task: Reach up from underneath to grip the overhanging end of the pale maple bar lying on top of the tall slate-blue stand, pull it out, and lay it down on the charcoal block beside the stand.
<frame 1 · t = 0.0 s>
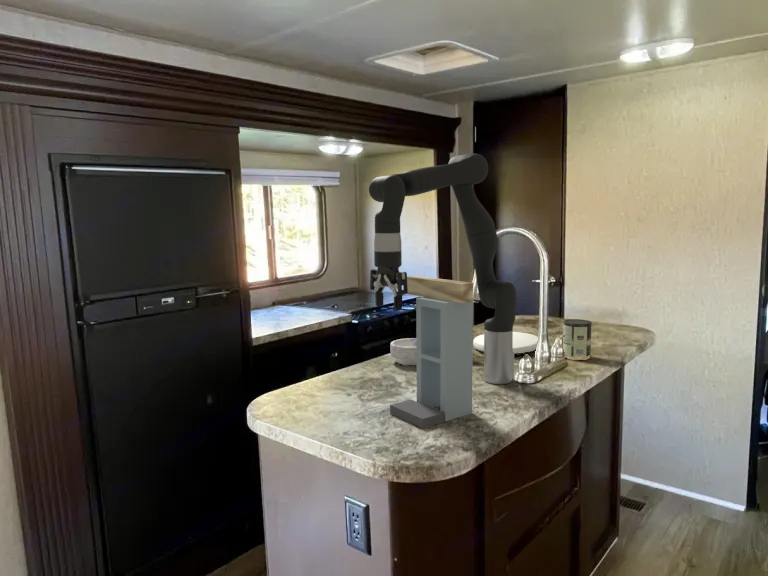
hand: (388, 307, 156), 29 cm above the countertop, tool pointing down, fingers open, 8 cm apart
coffee can: (576, 358, 215), on the countertop
white bowl: (410, 363, 210), on the countertop
maple bar: (437, 297, 156), point 32 cm above the countertop, touching slate stand
slate stand: (444, 411, 158), on the countertop
french press: (451, 357, 219), on the countertop
plate: (506, 350, 230), on the countertop
charcoal block: (416, 417, 153), on the countertop
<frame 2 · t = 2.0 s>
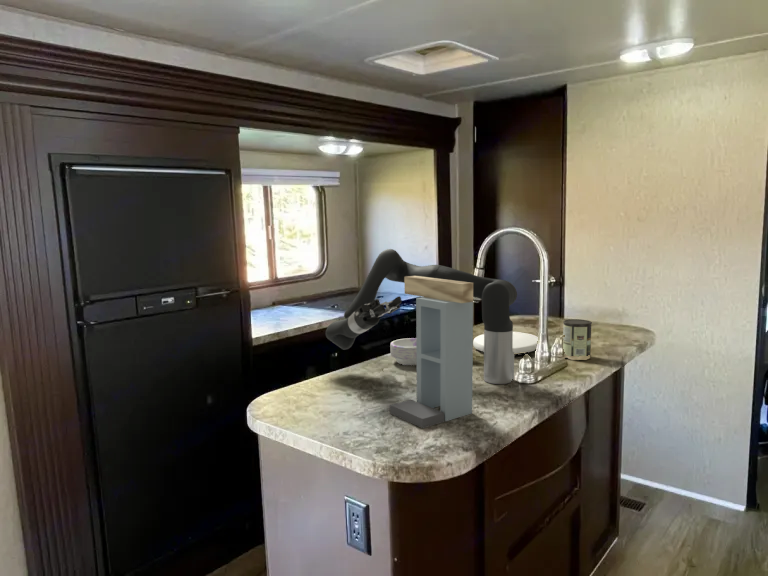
hand: (389, 300, 174), 29 cm above the countertop, tool pointing upward, fingers open, 8 cm apart
nothing on the countertop moved.
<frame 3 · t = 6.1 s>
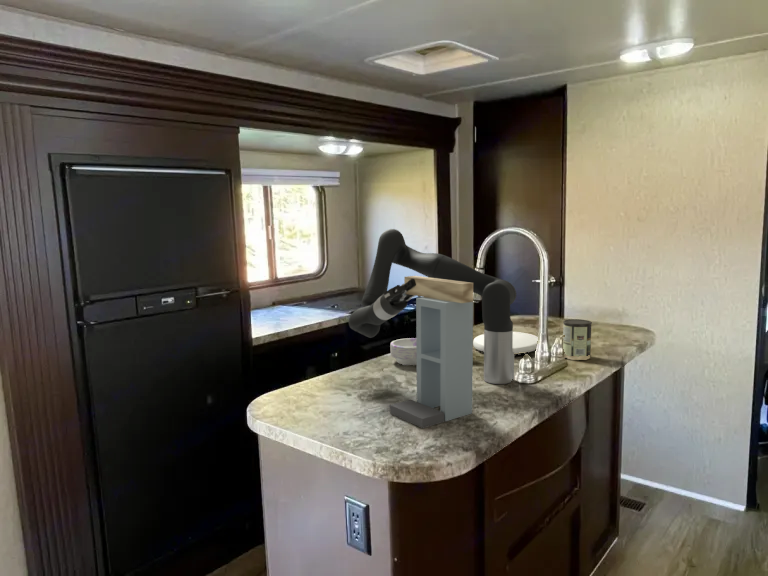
hand: (420, 281, 161), 36 cm above the countertop, tool pointing upward, fingers closed on maple bar, 4 cm apart
maple bar: (436, 297, 156), point 32 cm above the countertop, touching gripper, slate stand
everything else where it was.
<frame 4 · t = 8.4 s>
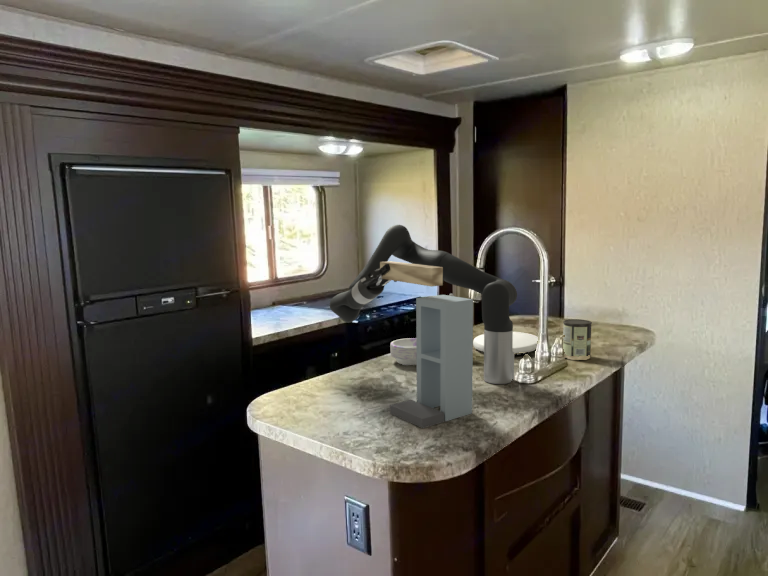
hand: (394, 266, 168), 40 cm above the countertop, tool pointing upward, fingers closed on maple bar, 4 cm apart
maple bar: (409, 281, 163), point 36 cm above the countertop, touching gripper
everything else where it was.
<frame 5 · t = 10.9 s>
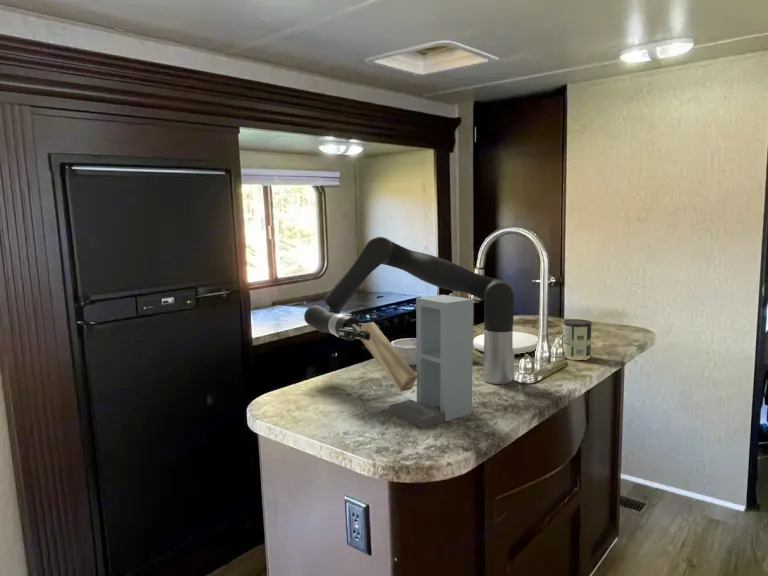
hand: (375, 335, 166), 20 cm above the countertop, tool horizontal, fingers closed on maple bar, 4 cm apart
maple bar: (383, 361, 163), point 13 cm above the countertop, tilted 30°, touching gripper
everything else where it was.
when the fingers open (7 cm above the countertop, at t = 15.1 s): maple bar stays where it is, resting on charcoal block.
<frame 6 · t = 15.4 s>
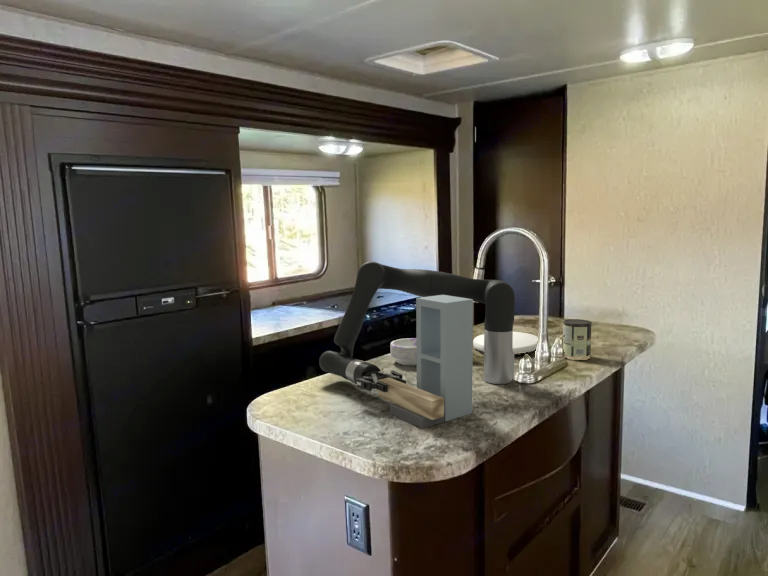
hand: (395, 386, 159), 7 cm above the countertop, tool horizontal, fingers open, 6 cm apart
maple bar: (409, 405, 155), point 2 cm above the countertop, touching charcoal block
everything else where it was.
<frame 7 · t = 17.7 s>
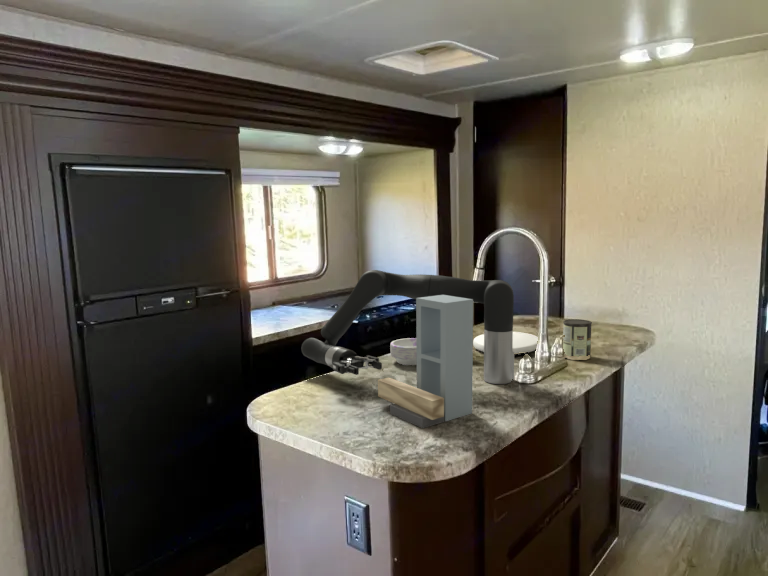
hand: (369, 368, 171), 9 cm above the countertop, tool horizontal, fingers open, 8 cm apart
nothing on the countertop moved.
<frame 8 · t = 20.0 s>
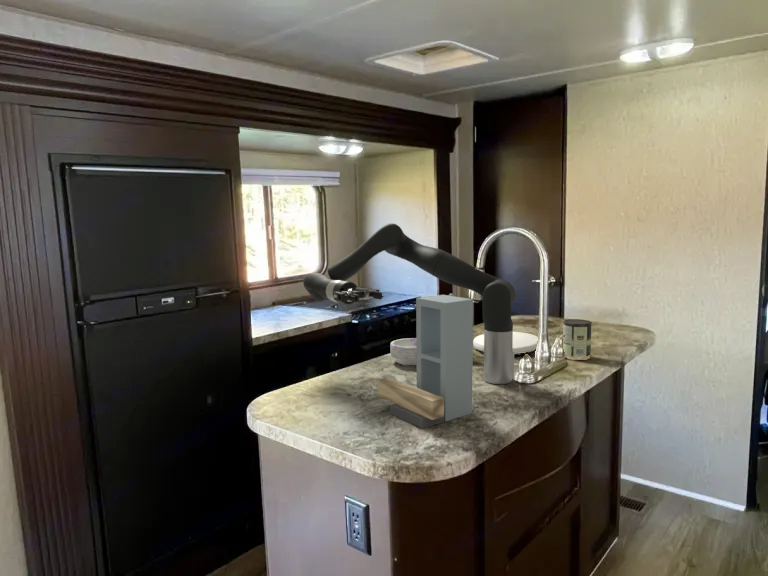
hand: (369, 297, 172), 30 cm above the countertop, tool horizontal, fingers open, 8 cm apart
nothing on the countertop moved.
at the end: maple bar inside the target area (1.4 cm from its centre), point 2.5 cm above the countertop; the gripper is holding nothing; maple bar moved 31.1 cm from its start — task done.
